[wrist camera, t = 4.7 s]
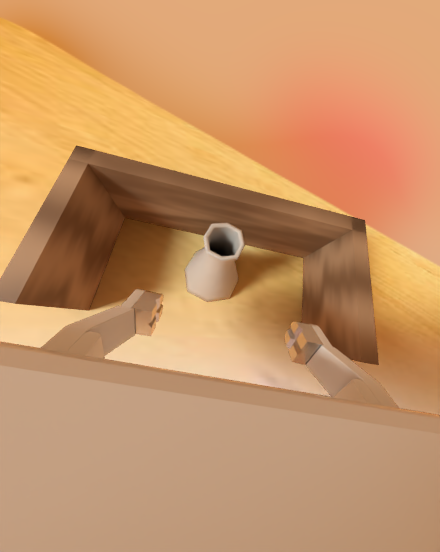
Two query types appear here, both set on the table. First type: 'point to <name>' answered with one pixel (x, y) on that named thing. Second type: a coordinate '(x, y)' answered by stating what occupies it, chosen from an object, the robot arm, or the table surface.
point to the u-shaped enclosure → (196, 219)
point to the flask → (215, 263)
